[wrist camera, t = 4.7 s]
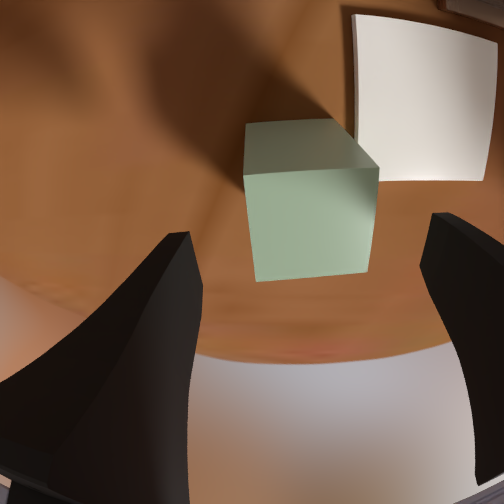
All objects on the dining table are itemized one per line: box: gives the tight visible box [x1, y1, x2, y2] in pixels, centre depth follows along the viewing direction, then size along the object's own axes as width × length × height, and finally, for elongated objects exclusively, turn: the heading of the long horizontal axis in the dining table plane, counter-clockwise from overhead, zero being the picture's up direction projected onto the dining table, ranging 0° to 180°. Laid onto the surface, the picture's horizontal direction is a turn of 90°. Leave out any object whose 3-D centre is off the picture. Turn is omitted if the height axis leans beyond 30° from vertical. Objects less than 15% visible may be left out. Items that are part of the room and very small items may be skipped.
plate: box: [351, 14, 498, 181], centre depth 12 cm, size 8×8×1 cm
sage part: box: [243, 118, 380, 282], centre depth 12 cm, size 4×4×6 cm
